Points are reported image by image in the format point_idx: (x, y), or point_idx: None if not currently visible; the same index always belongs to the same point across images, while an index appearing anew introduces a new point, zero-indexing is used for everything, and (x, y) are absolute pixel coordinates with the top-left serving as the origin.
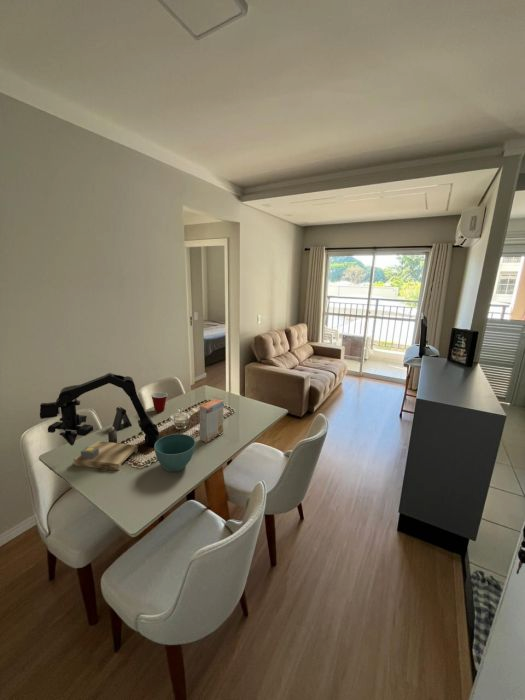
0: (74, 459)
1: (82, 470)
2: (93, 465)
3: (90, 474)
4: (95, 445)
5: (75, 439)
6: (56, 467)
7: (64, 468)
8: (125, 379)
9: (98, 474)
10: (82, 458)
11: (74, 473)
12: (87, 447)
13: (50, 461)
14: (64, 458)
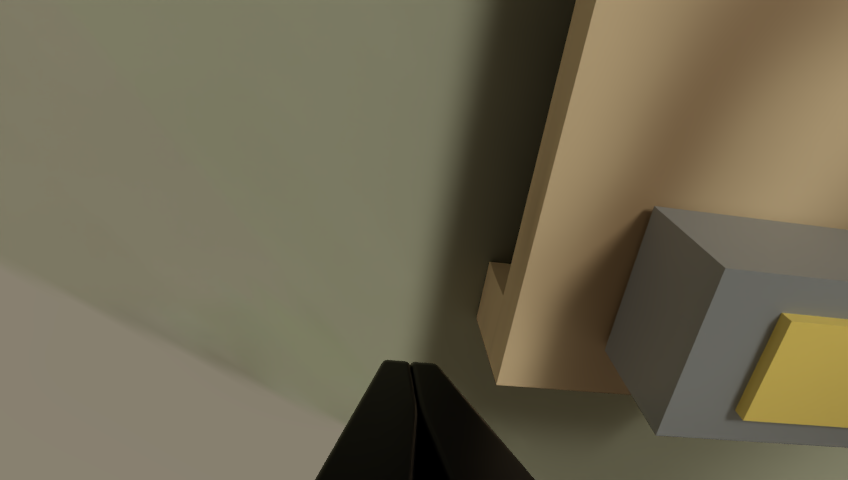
0: (503, 379)
1: (633, 403)
2: None
3: (750, 454)
4: None
5: (518, 465)
6: (257, 377)
7: None
8: None
9: (837, 447)
10: None
11: (563, 454)
12: (749, 289)
13: (35, 257)
14: (199, 166)
